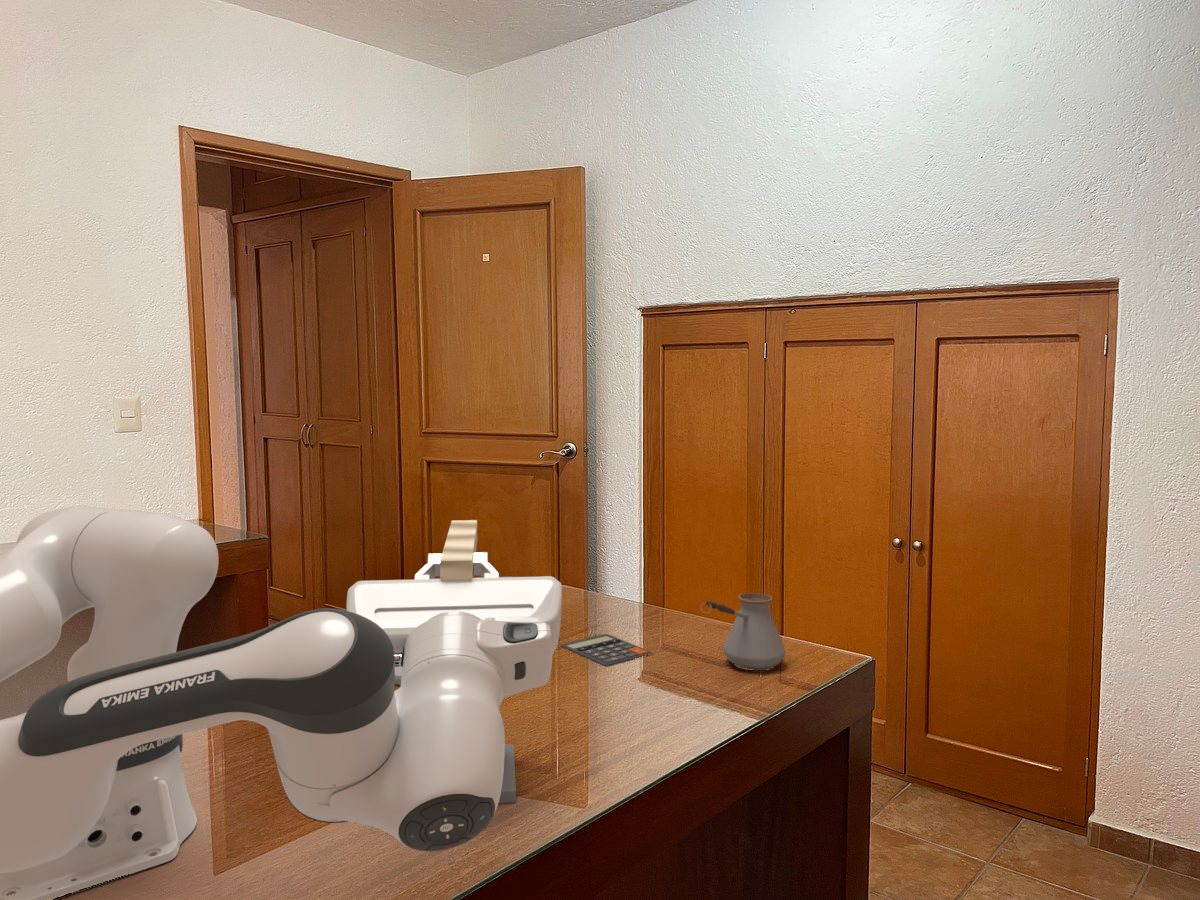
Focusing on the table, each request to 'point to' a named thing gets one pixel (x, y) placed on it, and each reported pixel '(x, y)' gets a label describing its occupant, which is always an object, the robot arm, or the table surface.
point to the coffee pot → (752, 633)
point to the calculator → (605, 649)
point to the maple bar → (459, 551)
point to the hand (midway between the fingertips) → (458, 557)
